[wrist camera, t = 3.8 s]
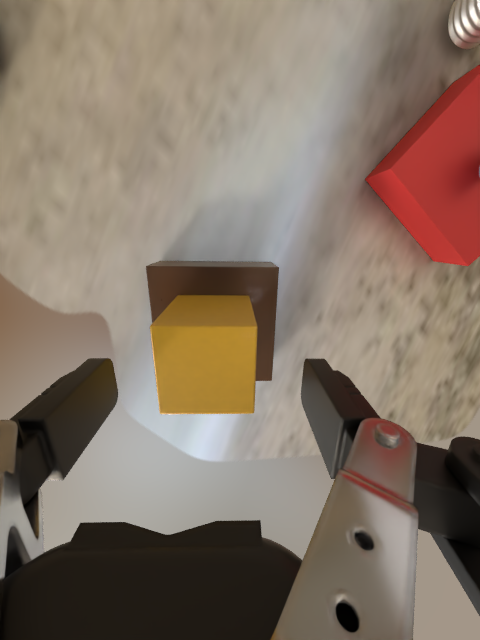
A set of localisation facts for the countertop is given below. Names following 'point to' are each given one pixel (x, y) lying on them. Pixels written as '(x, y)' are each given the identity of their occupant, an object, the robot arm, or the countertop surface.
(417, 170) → the red block
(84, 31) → the countertop surface
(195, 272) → the walnut block
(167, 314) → the yellow block
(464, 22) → the lightbulb
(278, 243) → the countertop surface
